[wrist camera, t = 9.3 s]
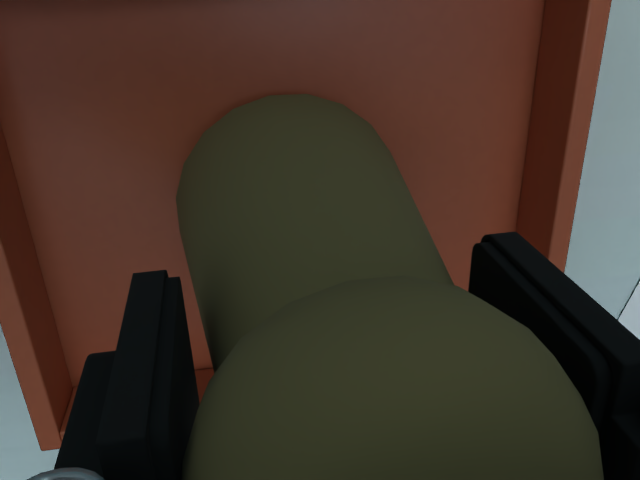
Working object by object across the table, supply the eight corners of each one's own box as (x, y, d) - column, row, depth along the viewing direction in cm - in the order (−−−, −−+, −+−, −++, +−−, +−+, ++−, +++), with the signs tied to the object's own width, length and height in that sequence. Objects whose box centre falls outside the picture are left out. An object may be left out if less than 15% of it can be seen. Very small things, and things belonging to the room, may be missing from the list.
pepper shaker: (387, 71, 15) (756, 297, 5) (408, 276, 17) (672, 682, 8) (146, 120, 14) (21, 481, 4) (207, 323, 17) (215, 825, 7)
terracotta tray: (60, 392, 19) (40, 452, 16) (-62, -32, 13) (-115, -30, 11) (510, 332, 21) (547, 376, 19) (562, -53, 15) (622, -55, 13)
